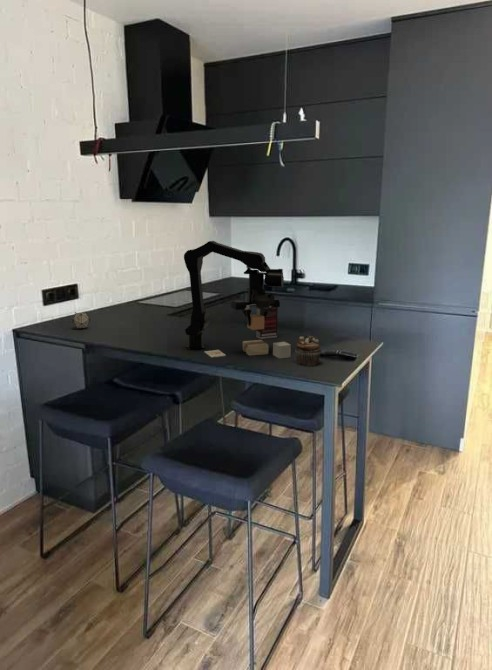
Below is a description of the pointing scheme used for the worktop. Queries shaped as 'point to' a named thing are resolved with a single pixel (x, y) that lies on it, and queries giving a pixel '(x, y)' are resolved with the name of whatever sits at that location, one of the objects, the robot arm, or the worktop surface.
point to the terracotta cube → (256, 322)
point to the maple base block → (255, 347)
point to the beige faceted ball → (81, 320)
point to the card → (214, 353)
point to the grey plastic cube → (281, 349)
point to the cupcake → (308, 350)
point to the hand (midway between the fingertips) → (255, 325)
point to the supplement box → (268, 324)
